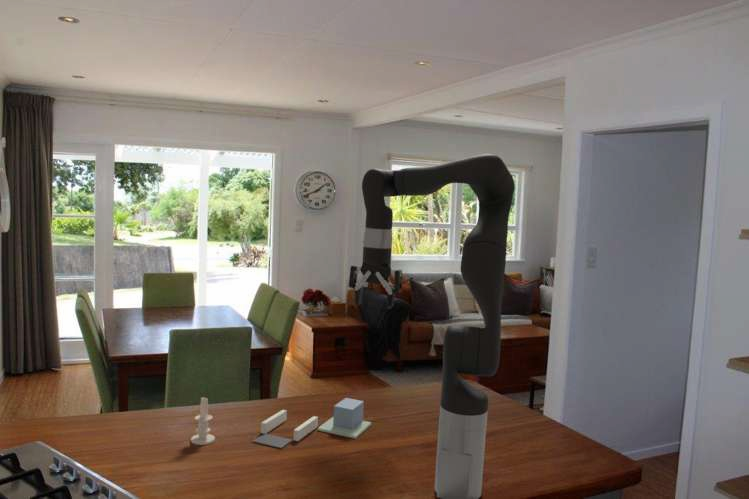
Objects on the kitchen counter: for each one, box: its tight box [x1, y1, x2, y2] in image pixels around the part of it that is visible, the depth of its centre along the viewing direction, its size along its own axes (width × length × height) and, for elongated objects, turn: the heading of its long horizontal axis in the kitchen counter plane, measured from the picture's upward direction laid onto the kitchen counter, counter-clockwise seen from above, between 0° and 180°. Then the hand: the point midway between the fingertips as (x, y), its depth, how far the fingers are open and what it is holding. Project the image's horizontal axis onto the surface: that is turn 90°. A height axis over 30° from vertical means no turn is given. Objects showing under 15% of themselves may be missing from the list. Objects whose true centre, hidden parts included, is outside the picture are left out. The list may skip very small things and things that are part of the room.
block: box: [332, 397, 365, 430], centre depth 152 cm, size 7×5×5 cm
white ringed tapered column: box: [190, 395, 216, 446], centre depth 137 cm, size 5×5×10 cm
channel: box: [252, 409, 319, 450], centre depth 144 cm, size 16×10×2 cm, turn 159°
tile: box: [317, 415, 372, 440], centre depth 150 cm, size 10×10×1 cm
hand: (373, 306), depth 162 cm, fingers open, 8 cm apart
